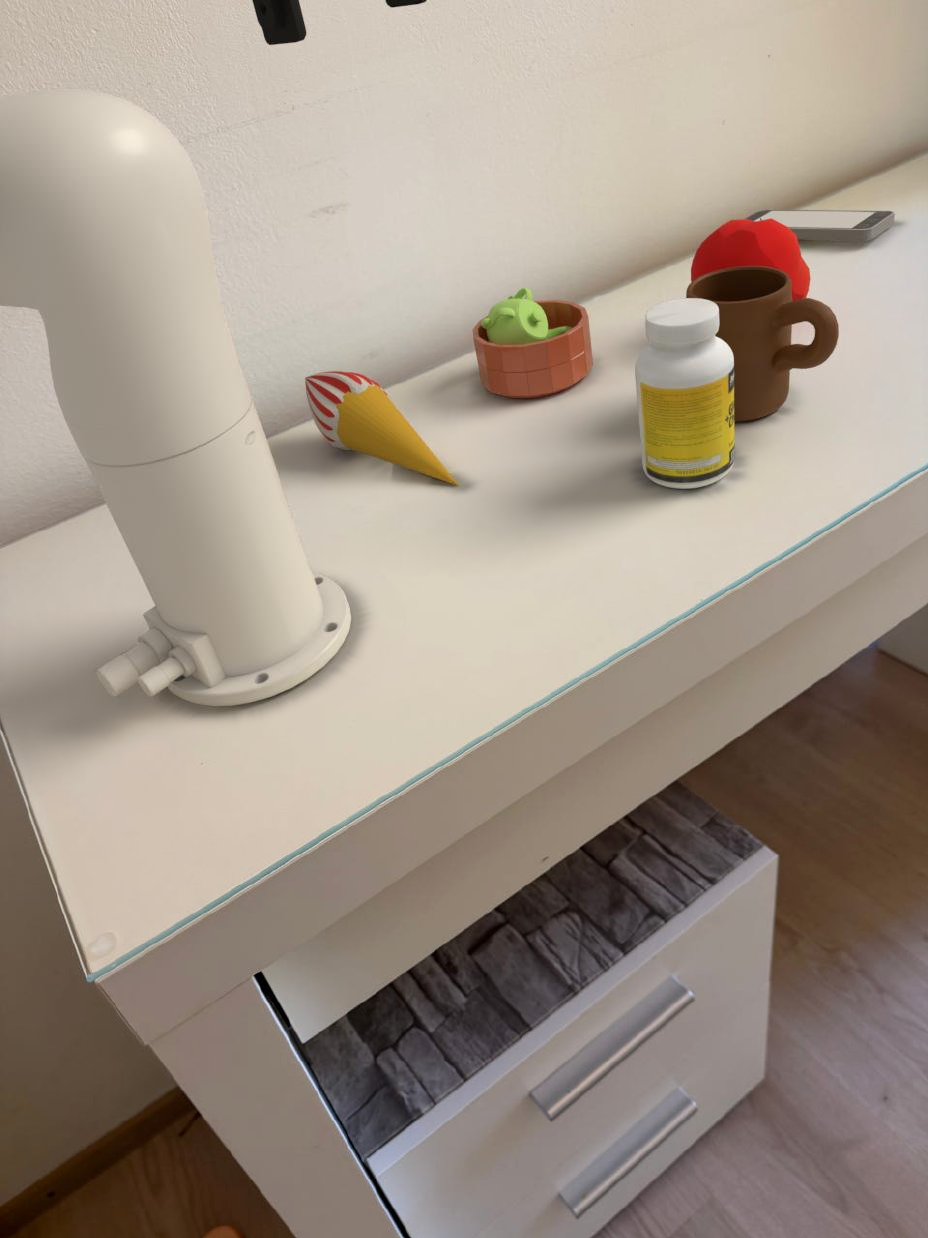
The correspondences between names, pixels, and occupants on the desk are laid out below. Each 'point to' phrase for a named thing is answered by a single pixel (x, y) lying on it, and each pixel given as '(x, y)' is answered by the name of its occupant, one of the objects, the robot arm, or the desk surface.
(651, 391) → the pill bottle
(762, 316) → the mug
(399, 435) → the ice cream cone
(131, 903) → the desk surface
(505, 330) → the multi-spout teapot
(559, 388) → the bowl
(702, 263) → the tomato
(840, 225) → the smartphone
